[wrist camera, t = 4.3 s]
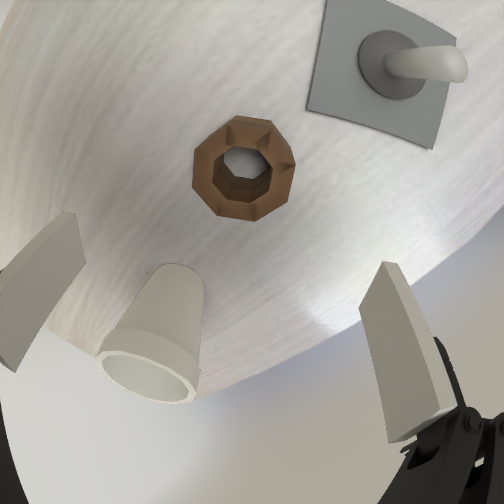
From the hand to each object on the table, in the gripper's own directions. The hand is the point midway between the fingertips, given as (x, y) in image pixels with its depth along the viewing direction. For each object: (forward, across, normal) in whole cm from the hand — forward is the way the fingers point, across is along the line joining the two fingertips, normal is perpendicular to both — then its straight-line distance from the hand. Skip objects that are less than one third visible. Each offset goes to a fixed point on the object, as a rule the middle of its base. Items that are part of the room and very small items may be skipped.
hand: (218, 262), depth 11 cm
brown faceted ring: (+14, 0, 0) cm, 14 cm away
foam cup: (+15, -6, -16) cm, 22 cm away
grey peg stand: (+14, +10, +11) cm, 21 cm away
